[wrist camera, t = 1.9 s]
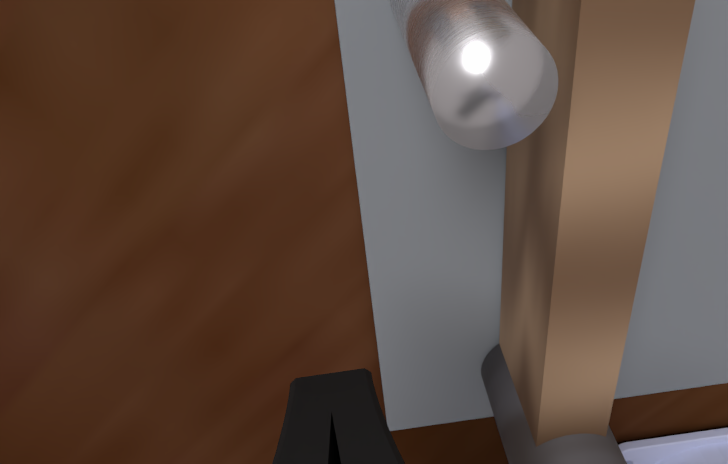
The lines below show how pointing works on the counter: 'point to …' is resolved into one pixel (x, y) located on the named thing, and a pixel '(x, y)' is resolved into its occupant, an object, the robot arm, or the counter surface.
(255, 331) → the counter surface
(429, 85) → the hitch post
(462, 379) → the mat
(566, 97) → the bar
